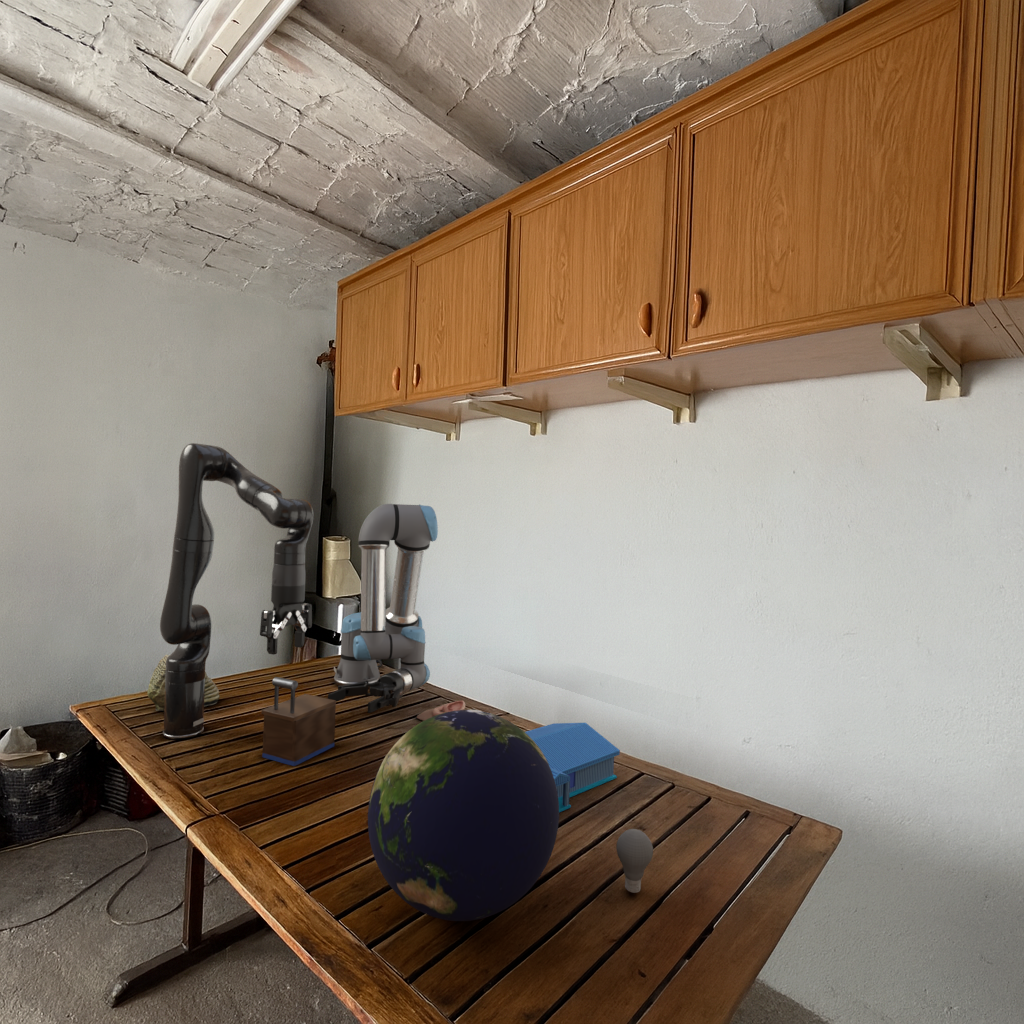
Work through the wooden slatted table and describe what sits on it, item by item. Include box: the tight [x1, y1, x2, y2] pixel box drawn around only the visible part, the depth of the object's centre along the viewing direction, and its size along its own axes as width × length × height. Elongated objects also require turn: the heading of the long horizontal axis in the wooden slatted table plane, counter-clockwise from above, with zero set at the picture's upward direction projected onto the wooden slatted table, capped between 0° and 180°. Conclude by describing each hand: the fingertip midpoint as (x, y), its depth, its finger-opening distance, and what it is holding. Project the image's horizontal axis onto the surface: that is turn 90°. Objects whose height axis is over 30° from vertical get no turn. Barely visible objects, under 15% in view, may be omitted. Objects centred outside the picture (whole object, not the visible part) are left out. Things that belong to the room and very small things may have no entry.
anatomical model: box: [416, 700, 466, 722], centre depth 185 cm, size 13×4×12 cm
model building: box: [524, 722, 621, 813], centre depth 143 cm, size 39×24×10 cm, turn 132°
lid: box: [260, 676, 337, 722], centre depth 156 cm, size 15×10×9 cm
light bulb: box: [615, 828, 654, 894], centre depth 106 cm, size 6×6×10 cm
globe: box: [367, 709, 560, 922], centre depth 100 cm, size 30×30×30 cm
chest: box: [261, 703, 337, 767], centre depth 156 cm, size 14×10×11 cm
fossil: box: [147, 654, 221, 712], centre depth 185 cm, size 9×18×15 cm, turn 132°
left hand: (286, 650), depth 151 cm, fingers open, 8 cm apart
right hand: (348, 703), depth 173 cm, fingers open, 13 cm apart
